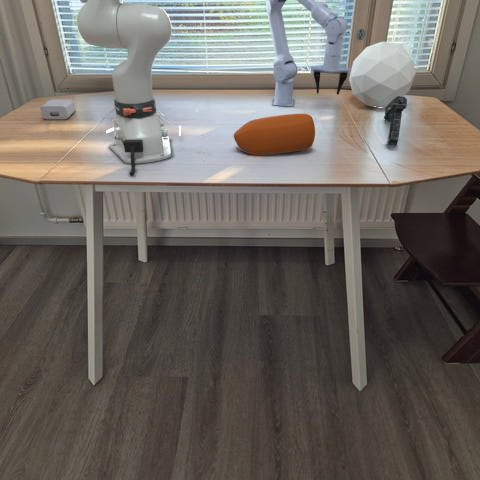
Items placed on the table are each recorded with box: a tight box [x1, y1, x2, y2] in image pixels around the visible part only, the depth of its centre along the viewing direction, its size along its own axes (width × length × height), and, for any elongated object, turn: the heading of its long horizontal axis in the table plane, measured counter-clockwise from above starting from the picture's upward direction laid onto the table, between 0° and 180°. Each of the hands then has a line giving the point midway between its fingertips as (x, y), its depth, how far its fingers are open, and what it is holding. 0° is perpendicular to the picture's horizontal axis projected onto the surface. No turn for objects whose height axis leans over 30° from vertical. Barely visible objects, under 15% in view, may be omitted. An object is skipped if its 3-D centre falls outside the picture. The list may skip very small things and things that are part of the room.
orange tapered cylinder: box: [233, 113, 316, 156], centre depth 124 cm, size 12×11×25 cm
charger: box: [39, 98, 76, 120], centre depth 153 cm, size 5×9×15 cm
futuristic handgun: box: [383, 96, 408, 147], centre depth 138 cm, size 4×29×15 cm, turn 164°
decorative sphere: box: [348, 41, 417, 110], centre depth 160 cm, size 24×25×25 cm
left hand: (101, 15), depth 155 cm, fingers closed on canister, 4 cm apart
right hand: (327, 93), depth 156 cm, fingers open, 7 cm apart
